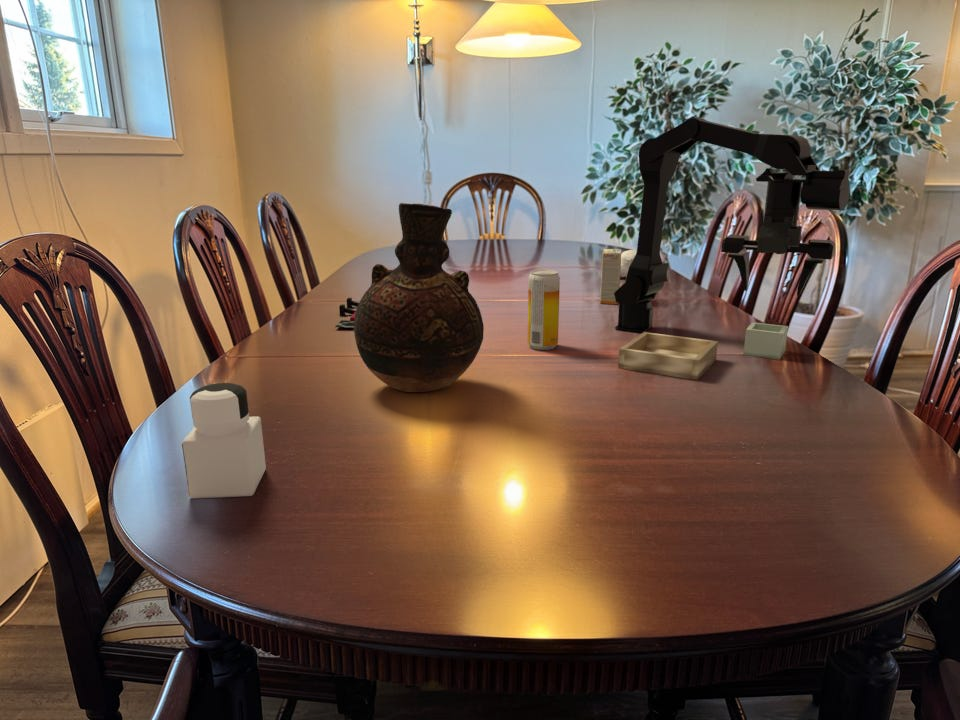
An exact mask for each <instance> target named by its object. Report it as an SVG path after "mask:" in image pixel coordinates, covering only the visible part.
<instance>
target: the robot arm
mask: <svg viewBox="0 0 960 720" xmlns="http://www.w3.org/2000/svg"><path fill="white" fill-rule="evenodd" d="M698 142H702V143H706V144H708V145H709V144H710V145H713V146H717V147H721V148H726V149H729V150H733V151H736V152H740V153H744V154H746V155H750V156H751V157H753V158H755V159H756V160H758V161H759V162H761V163H764V164H766V165H768V166H770V167H768V168H765V169H764V171H763V172H762V173H761V174H759V175H758V176H757V177H756V178H755V181H756V182H760V183H761V182H762V183H764V182H765V183H767V187H766V197H765V203H764V204H765V205H764V213H763V221H762V222H763V223H762V224H761V226H760V228H759V231H758V235H757V240H754V239H750V236H749V235H739V234H730V235H728V236H726V237H724V238H723V239H722V242H721V249H720V250H721V251H720V252H721V253H723V254H724V253H726V254H728V255H727V256H728V258H732V259H733V260H734V262H735V263H736V265H737V267H738V271H739V274H740V279H741V282H742V287H743V291H745V292H747V291H748V288H749V283H750V282H749V280H750V251H756V252H757V253H759V254H765V253H771V254H776V255H784V254H786V253H791V254H792V253H794V254H795V253H796V254H806V255H807V256H806V258H805V259H804V263H803V267H802V270H801V274H800V278H799V281H798V284H797V290H796V296H797V297H800V295H801V293H802V291H803V288H804V287H805V285H806V283H807V280H808V279H809V277H810V275H811V273H812V271H813V270H814V268H815V267H816V265H817V264H824V262H825V260H832V259H833V258H834V256H835V250H836V249H835V248H836V243H835V242H834V240H832V239H818V238H816V239H813V238H812V239H811V240H809V242H808V243H807V242H801V240H802V234H803V233H802V230H803V229H802V226H801V225H798V221H799V220H798V219H799V213H800V212H799V211H800V206H801V205H800V204H802V205H805V207H806V209H807V210H816V211H817V210H818V211H819V210H821V211H822V210H823V211H839V212H842V211H844V210H846V208H847V206H848V203H849V199H850V195H851V189H850V179H849V170H848V169H836V170H821V169H820V167H819V166H818V164H817V163H816V161H815V159H814V157H812V155H811V145H810V143H809V141H808V139H807V138H806V137H804V136H802V135H794V134H793V135H791V134H773V133H771V134H770V133H759V132H755V131H751V130H747V129H742V128H738V127H735V126H731V125H730V126H729V125H726V124H721V123H718V122H713V121H709V120H707V119H705V118H702V117H689V118H687V119H685V120H684V121H683V122H681V123H680V124H679V125H677V126H675V127H672V128H670V129H669V130H667V131H665V132H663V133H661V134H659V135H658V136H657V137H652V138H648V139H646V140H645V141H644V142H643V143H642V144H641V145H640V147H639V150H638V169H639V173H640V176H641V180H642V182H643V191H642V200H641V209H640V216H639V217H640V219H639V228H638V236H637V237H638V238H637V244H636V245H637V246H636V247H637V248H636V251H637V252H636V255H635V257H634V259H633V261H632V263H631V264H630V266H629V269H628V273H627V277H626V276H625V282H624V283H623V284H622V285H621V286H620V287H619V289H618V290H617V291H615V292H614V296H615V300H616V302H618V315H617V317H618V319H617V322H618V323H617V325H615V327H614V329H615V330H620V331H629V332H635V333H643V332H647V331H649V329H651V328H652V327H653V323H654V322H653V319H654V308H653V307H652V300H655V298H656V296H657V294H658V292H659V291H661V290H662V289H663V287H664V286H665V283H666V282H668V278H667V273H668V270H669V263H668V262H663V259H662V257H661V245H662V238H663V229H664V220H665V212H666V205H667V196H668V187H669V183H670V181H671V180H672V178H673V176H674V174H675V172H676V170H677V168H678V165H679V164H678V163H679V160H680V157H681V156H682V155H683V154H685V153H687V152H688V151H690V150H691V149H692V148H693V147H694V146H695V145H696V144H697V143H698ZM775 169H776V170H785V171H787V172H781V171H780V172H779V171H778V172H776V171H775ZM794 176H802V177H803V176H805V178H794Z"/></svg>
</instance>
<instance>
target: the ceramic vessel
mask: <svg viewBox="0 0 960 720" xmlns="http://www.w3.org/2000/svg"><path fill="white" fill-rule="evenodd" d="M452 213H453V211H452V209H450V208H444V207H440V206H436V205H432V204H431V205H430V204H429V205H428V204H424V203H423V204H422V203H405V202H400V203H399V204H398V214H399V215H398V216H399V222H400V227H401V233H402V237H401V238H402V239H401V240H400V241H399V242H398V243H397V245H396V247H395V248H394V253H395V254H394V255H395V257H396V258H397V260H398V261H399V264H398V265H397V266H396V268H393V269H388V268H387V267H386V266H385V265H383V264H382V263H376V264H375V265H374V266H373V267H372V269H371V284H370V286H369V287H368V289H367V290H366V291H365V292H364V294H363V295H362V297H361V299H360V301H359V302H358V303H359V304H358V307H356V309H355V311H356V313H355V318H354V327H353V333H354V339H355V344H356V347H357V348H356V349H357V350H358V353H359V356H360V358H361V360H362V361H363V363H364V364H365V366H366V367H367V369H368V370H369V371H370V372H371V373H372V374H373V376H375V377H376V378H378V379H377V380H380V381H381V382H383V384H385V385H387V386H389V387H391V388H393V389H394V390H397V391H400V392H404V393H406V392H408V393H409V392H410V393H422V392H423V393H424V392H431V391H435V390H440V389H443V388H444V389H445V388H446V387H448V386H450V385H451V384H453V383H454V382H456V381H457V380H458V379H459V378H460V377H461V376H462V375H463V374H464V373H465V372H467V370H468V369H469V368H470V366H471V365H472V364H473V362H474V361H475V359H476V357H477V355H478V353H479V351H480V350H481V346H482V343H483V341H484V329H485V328H484V322H483V321H484V320H483V317H482V313H481V310H480V308H479V305H478V303H477V301H476V299H475V298H474V296H473V295H472V293H470V291H469V283H470V277H469V274H468V273H467V272H466V271H463V270H457V271H455V272H453V273H451V274H450V273H448V272H447V271H445V270H444V268H443V264H444V263H446V261H447V260H448V258H449V257H450V248H449V246H448V244H447V243H445V241H443V237H444V233H445V230H446V229H447V225H448V223H449V220H450V219H451V217H452Z"/></svg>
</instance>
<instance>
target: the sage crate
mask: <svg viewBox="0 0 960 720" xmlns="http://www.w3.org/2000/svg"><path fill="white" fill-rule="evenodd" d="M788 331H789V326H788V325H782V324H781V325H779V324H772V323H771V324H770V323H764V322H763V323H762V322H751V323H750V324H749V325H748V327H747V328H746V329H745V336H744V337H745V338H744V344H743V355H744V356H750V357H756V358H757V357H758V358H765V359H771V360H772V359H773V360H779V361H780V360H781V358H782V357H783V355H784V354H785V352H786V348H787V347H786V346H787V340H788V339H787V338H788Z"/></svg>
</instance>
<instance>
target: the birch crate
mask: <svg viewBox="0 0 960 720" xmlns="http://www.w3.org/2000/svg"><path fill="white" fill-rule="evenodd" d="M718 342H719V341H718V340H717V341H715V340H711V339H710V340H709V339H703V338H694V337H687V336H681V335H680V336H678V335H671V334H662V333H656V332H655V333H654V332H647V331H645V332H641V333H640V334H639V335H638V336H636V337H635V338H633V339H632V340H630V341H629V342H627V343H626V344H625V345H623V346H622V347H620V348H619V349H618V366H617V367H618V368H619V369H622V370H629V371H636V372H643V373H648V374H649V373H650V374H654V375H661V376H662V375H663V376H668V377H674V378H680V379H687V380H695V381H698V380H699V379H700V378H701V377H702V375H704V373H706V372H707V370H708V369H709V368H710V367H711V366H712V365H713V364H714V362H715V361H716V360H717V356H718V355H717V353H718V344H719V343H718Z"/></svg>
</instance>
